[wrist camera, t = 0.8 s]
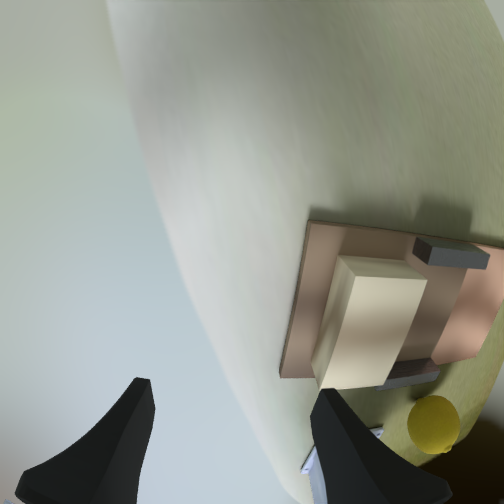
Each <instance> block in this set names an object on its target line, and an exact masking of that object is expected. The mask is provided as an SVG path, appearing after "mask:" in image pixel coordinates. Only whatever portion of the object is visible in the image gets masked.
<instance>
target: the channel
mask: <svg viewBox="0 0 504 504" xmlns="http://www.w3.org/2000/svg"><path fill="white" fill-rule="evenodd" d="M412 254H413V255H415V256H416V257H417V258H419V259H420V260H421V261H423V262H424V263H425V264H427V265H432V266H445V267H457V268H469V269H482V270H486V268H487V265H488V262H489V258H490V254H489V253H487V252H485V251H484V250H482V249H480V248H478V247H477V246H475V245H469V244H463V243H457V242H450V241H444V240H437V239H431V238H424V237H417V236H416V239H415V243H414V247H413V251H412ZM439 373H440V369H439V368H438V367H437V365H436V364H435V363H434V361H433V360H432V359H431V357H429V358H422V359H415V360H407V361H398V362H394V364H393V366H392V368H391V370H390V372H389V374H388V376H387V378H386V380H385V382H384V384H383V385H378V386H374V388H375V390H376V391H379V390H386V389H393V388H399V387H405V386H411V385H416V384H422V383H427V382H432V381H435V380H436V378H437V376H438V375H439Z"/></svg>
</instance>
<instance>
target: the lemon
mask: <svg viewBox="0 0 504 504" xmlns="http://www.w3.org/2000/svg"><path fill="white" fill-rule="evenodd" d="M407 426H408V432H409V435H410V437H411V439H412V441H413V443H414V444H415V445H416V446H417V447H418V448H419V449H420V450H421V451H423V452H425V453H428V454H438V453H441V452H445V453H446V452H448V451H449V450H451V447H452V445H453V444H454V442H455V441H456V439H457V437H458V435H459V432H460V420H459V416H458V413H457V411H456V409H455V407H454V406H453V404H452V403H451V402H450V401H448V400H447V399H446V398H444V397H442V396H436V395H433V396H428V397H425V398H419V399H418V400H417V402H416V404H415V405H414V407H413V408H412V409H411V411H410V413H409V417H408V421H407Z"/></svg>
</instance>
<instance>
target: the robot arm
mask: <svg viewBox="0 0 504 504" xmlns="http://www.w3.org/2000/svg"><path fill="white" fill-rule="evenodd" d="M154 414H155V404H154V399H153V394H152V388H151V382H150V379H144V378H138V377H136V378H134V380H133V381H132V382H131V384H130V385H129V387H128V388H127V389H126V390H125V392H124V393H123V394H122V396H121V397H120V398H119V399H118V401H117V402H116V403H115V404H114V405H113V406H112V408H111V409H110V410H109V411H108V412H107V413H106V415H104V417H103V418H102V419H101V420H100V421H99V422H98V423H97V424H96V425H95V426H94V427H93V428H92V429H91V430H90V431H88V432H87V433H86V434H85V435H84V436H83V437H81V438H80V439H79V440H78V441H76V442H75V443H74V444H72V445H71V446H70V447H68V448H67V449H66V450H64V451H63V452H61V453H59V454H58V455H56V456H54V457H53V458H51V459H49V460H47V461H46V462H44V463H42V464H40V465H37V466H35V467H33V468H30V469H28V470H26V471H24V472H23V474H22V476H21V478H20V480H19V483H18V486H17V488H16V491H15V495H16V497H17V498H18V499H20V500H21V501H22V502H24V503H25V504H136V503H137V493H138V485H139V477H140V472H141V468H142V464H143V460H144V456H145V453H146V449H147V446H148V442H149V438H150V435H151V431H152V427H153V421H154ZM310 420H311V428H312V435H313V439H314V443H315V446H314V448H313V450H312V452H311V454H310V455H309V457H308V459H307V461H306V462H305V464H304V466H303V468H302V469H301V473H302V474H307V473H308V474H309V479H310V484H311V489H312V494H313V499H314V504H443V503H444V502H445V501H447V500H448V499H449V498H450V497H451V496H452V492H451V490H450V488H449V485H448V483H447V481H446V480H444V479H442V478H439V477H437V476H435V475H432V474H430V473H427V472H426V471H424V470H422V469H419V468H418V467H416V466H414V465H413V464H411V463H410V462H408V461H406V460H405V459H403V458H402V457H400V456H399V455H398V454H396V453H395V452H394V451H392V450H391V449H390V448H389V447H387V446H386V445H385V444H384V443H383V442H382V441H380V440H379V439H378V438H379V437H380V436H381V434H382V433H383V431H384V429H383V427H380V428H375V429H368V428H367V427H366V425H365V424H364V423H363V422H362V421H361V420H360V419H359V418H358V416H357V415H356V414H355V413H354V412H353V410H352V409H351V408H350V407H349V406H348V404H347V403H346V402H345V400H344V399H343V398H342V397H341V395H340V394H339V393H338V392H337V390H336V389H335V388H321V390H320V393H319V396H318V398H317V401H316V403H315V405H314V408H313V410H312V413H311V415H310ZM4 504H14V503H12V502H11V501H9V500H7V499H5V501H4Z"/></svg>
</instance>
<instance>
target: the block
mask: <svg viewBox="0 0 504 504" xmlns="http://www.w3.org/2000/svg"><path fill="white" fill-rule="evenodd" d="M426 283H427V279H426V278H425V277H424V276H422V275H421V274H420V273H419V272H418V271H416V270H415V269H414V268H413V267H411V266H410V265H409V264H408V263H407V262H405V261H404V260H393V259H381V258H369V257H358V256H346V255H338V256H337V261H336V266H335V270H334V275H333V279H332V283H331V287H330V292H329V296H328V300H327V304H326V308H325V312H324V315H323V319H322V323H321V327H320V330H319V334H318V338H317V341H316V345H315V348H314V352H313V355H312V358H311V365H312V368H313V371H314V375H315V378H316V381H317V384H318V388H319V391H320V390H321V388H335V389H336V390H338V389H350V388H361V387H370V386H378V385H383V384H384V382H385V380H386V378H387V376H388V374H389V372H390V370H391V368H392V366H393V364H394V362H395V360H396V358H397V356H398V354H399V352H400V349H401V347H402V345H403V343H404V340H405V338H406V336H407V333H408V331H409V329H410V326H411V324H412V321H413V319H414V316H415V314H416V311H417V308H418V306H419V303H420V300H421V297H422V295H423V292H424V289H425V286H426Z"/></svg>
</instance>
